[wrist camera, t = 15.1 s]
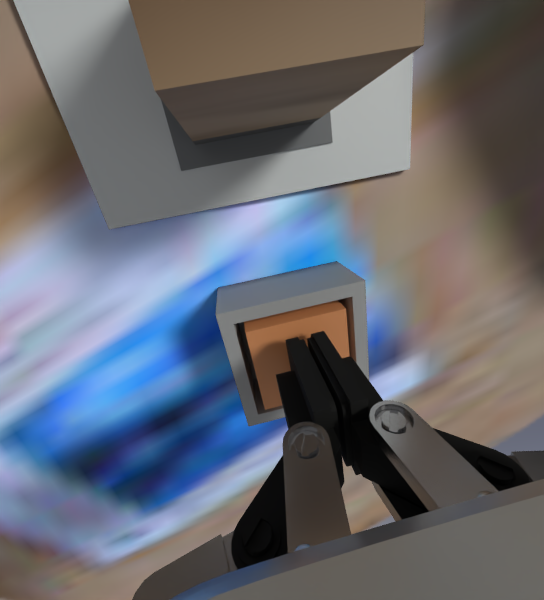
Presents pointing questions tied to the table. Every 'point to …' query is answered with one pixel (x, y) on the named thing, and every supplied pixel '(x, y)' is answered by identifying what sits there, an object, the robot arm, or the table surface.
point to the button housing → (278, 299)
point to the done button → (278, 328)
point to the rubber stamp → (269, 57)
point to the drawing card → (172, 137)
